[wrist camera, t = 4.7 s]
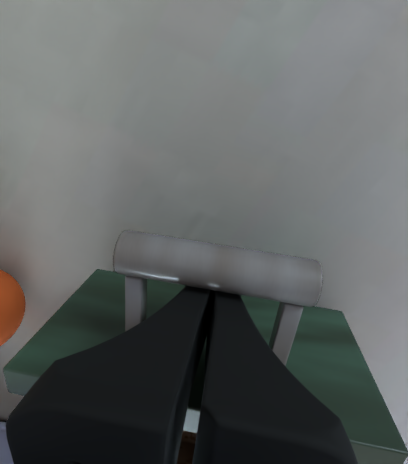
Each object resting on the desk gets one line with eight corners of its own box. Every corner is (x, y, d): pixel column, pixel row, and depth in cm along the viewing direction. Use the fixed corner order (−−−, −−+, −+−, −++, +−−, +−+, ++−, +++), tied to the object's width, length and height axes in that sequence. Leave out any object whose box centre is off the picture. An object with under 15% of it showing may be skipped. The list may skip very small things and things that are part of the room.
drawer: (92, 179, 14) (-33, 235, 7) (376, 220, 12) (498, 325, 6) (104, 415, 20) (44, 542, 14) (287, 455, 19) (305, 610, 13)
